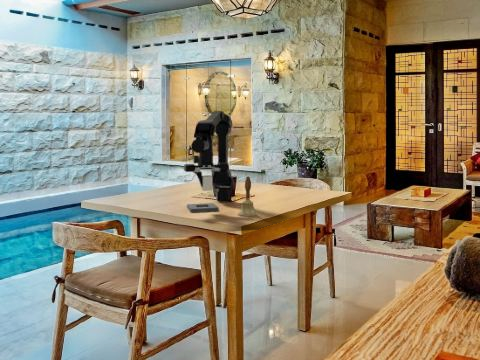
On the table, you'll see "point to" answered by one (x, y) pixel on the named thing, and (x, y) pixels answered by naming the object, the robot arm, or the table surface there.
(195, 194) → the table surface
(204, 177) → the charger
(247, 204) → the hand bell
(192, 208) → the outlet plate
